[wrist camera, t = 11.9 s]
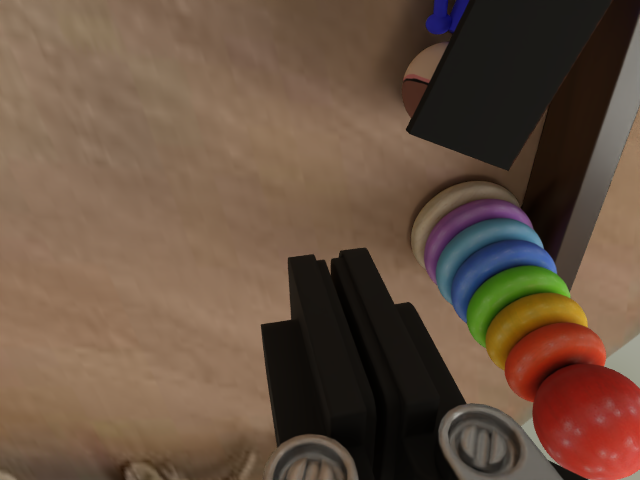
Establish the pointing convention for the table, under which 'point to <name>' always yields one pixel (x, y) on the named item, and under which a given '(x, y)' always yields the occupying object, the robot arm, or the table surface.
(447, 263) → the stacking toy
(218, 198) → the table surface
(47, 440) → the table surface
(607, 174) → the walnut board
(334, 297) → the robot arm
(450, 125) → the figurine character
